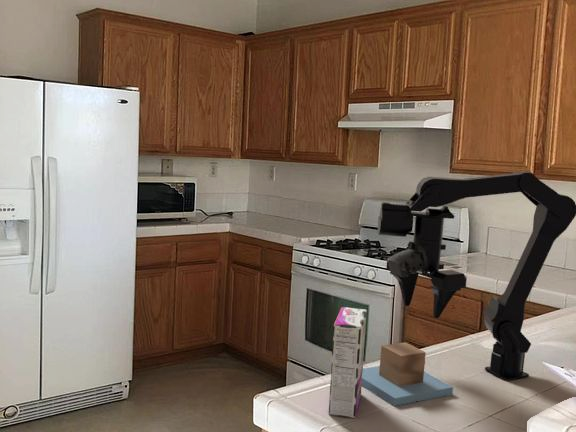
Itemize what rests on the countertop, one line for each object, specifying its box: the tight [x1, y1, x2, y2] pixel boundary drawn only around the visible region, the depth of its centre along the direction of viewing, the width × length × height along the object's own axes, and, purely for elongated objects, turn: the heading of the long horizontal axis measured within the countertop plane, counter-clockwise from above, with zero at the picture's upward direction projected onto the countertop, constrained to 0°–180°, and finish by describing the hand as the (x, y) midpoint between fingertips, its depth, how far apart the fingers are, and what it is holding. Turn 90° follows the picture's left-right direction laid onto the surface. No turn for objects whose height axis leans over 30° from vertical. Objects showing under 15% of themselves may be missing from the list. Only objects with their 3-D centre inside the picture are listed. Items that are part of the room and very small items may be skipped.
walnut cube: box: [379, 342, 427, 387], centre depth 123 cm, size 6×6×6 cm
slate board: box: [361, 365, 454, 407], centre depth 124 cm, size 14×14×2 cm
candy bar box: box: [328, 306, 367, 419], centre depth 113 cm, size 11×5×16 cm, turn 168°
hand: (421, 311), depth 133 cm, fingers open, 9 cm apart
